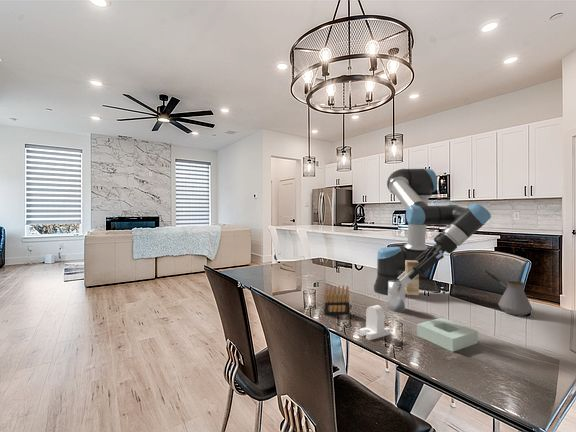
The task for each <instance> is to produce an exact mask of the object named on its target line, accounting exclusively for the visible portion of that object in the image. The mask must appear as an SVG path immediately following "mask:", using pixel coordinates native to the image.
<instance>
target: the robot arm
mask: <svg viewBox="0 0 576 432" xmlns="http://www.w3.org/2000/svg"><path fill="white" fill-rule="evenodd" d="M386 185H387V186H386V187H387V189H388V191H389V192H390V193H391V194H393V195H395V196H396V198H397V199H398V201H399V202H400V204H402V206H403V207H404V209H405V210H406V212H405V219H406V222H407V224H408V226H407V227H408V228H407V243H405V244H404V245H403V249H402V248H401V247H399V246H386V247H382V248H379V249H378V250H377V257H376V259H377V264H376V266H377V267H376V268H377V273H376V274H377V275H376V279H375V283H374V284H373V291H374V292H375V293H377V294H378V293H379V294H381V295H382V294H383V295H387V296H388V281H389V280H400V282H401V283H402V284H403V285H404V286H407V285H408V284H409V283H410V282H411V281H412V280H413V279H415V278H416V277H417V276H418V274H419V276H420V275H424V274H425V273H426V272H428V271H429V270H430V269H431V268H432V267H433V266H434V265H435V264H436V263H438V262H439V261H440V260H442V259H443V258H445V256H444V253H447V254H452V253H453V252H455V250H456V249H458V247H460V246H461V245H463V243H465V242H466V241H468V239H469V238H470V237H471V236H473V235H474V233H475V234H476V232H477V231H478V230H479V229H481V228H482V227H483V226H485V224H486V223H487V222H488V221H489V220H491V218H492V214H491V212H490V211H489V210H488V209H487V208H485V207H484V206H482V205H481V204H479V203H475V202H474V203H473V204H471V205H470V206H468V207H467V208H466V207H463V206H460V205H457V204H446V205H428V204H429V198H430V197H432V193H434V192H436V190H437V188H438V185H439V184H438V177H437V175H436V172H435V171H434V170H433V169H430V168H401V169H397V170H395V171H393V172H391V174H390V175H389V177H388V178H387V181H386ZM427 226H446V227H445V228H444V229H443V230H442V232H439V233H438V234H437V235H436V236H435V237H434V238H433V240H434V242H435V244H434V245H433V246H432V245H430V246H427V245H426V238H427V236H426V235H427ZM405 260H412V261H418V262H419V265H418V266H417V267H416V268H415V267H413V269H414V270H415V271H414V270H413V269H412V270H411V271H410V272H409V273H408V274H406V275H405ZM401 272H402V273H401Z"/></svg>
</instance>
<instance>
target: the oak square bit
mask: <svg viewBox="0 0 576 432" xmlns="http://www.w3.org/2000/svg"><path fill="white" fill-rule="evenodd" d="M418 265H419V262H418V261H412V260H405V275H406V274H408V273H409V272H410V271H411V270H412V269H413V267H415V268H416V267H417V266H418ZM413 270H414V269H413ZM414 271H415V270H414ZM419 287H420V275H419V274H418V276H417V277H416V278H415V279H413V280H412V281H411V282H410V283H409V284H408V285H407V286H405V295H410V296H419V295H420V288H419Z"/></svg>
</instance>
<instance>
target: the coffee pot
mask: <svg viewBox="0 0 576 432" xmlns="http://www.w3.org/2000/svg"><path fill="white" fill-rule="evenodd" d="M483 273H484V275H486V274H487V276H490V277H491V278H492V279H493V280H494V281H496V282H498V283H500V284H501V285H502V286H503V287H505V288H506V289H505V291H504V293H503V294H502V296H501V297H500V298H499V300H498V303H497V305H498V307H499V308H500V310H502V311H503V310H504V311H505V312H506V313H505V312H504V311H503V312H504V313H505V314H508V313H509V315H511V314H512V316H516V315H518V316H517V317H525V316H524V315H526V316H527V315H528V314H530V313H532V311H533V307H532V305H531V303H530V300H529V299H528V296H527V295H526V293H525V290H524V286H526V283H524V282H521V281H515V280H507V281H505V283H506V284H505V283H504V282H502V281H501V280H500V279H499V278H498V277H496V276H495V275H494V274H492V273H491V272H489V271H488V270H486V269H485V270H484V271H483Z"/></svg>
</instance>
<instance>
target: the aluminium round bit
mask: <svg viewBox="0 0 576 432" xmlns="http://www.w3.org/2000/svg"><path fill="white" fill-rule="evenodd" d="M387 310H389V311H391V312H395V313H396V312H397V313H402V312H403V313H405V311H406V292H405V286H404V285H403V284H402V283H401V282H400V280H389V281H388V295H387Z"/></svg>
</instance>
